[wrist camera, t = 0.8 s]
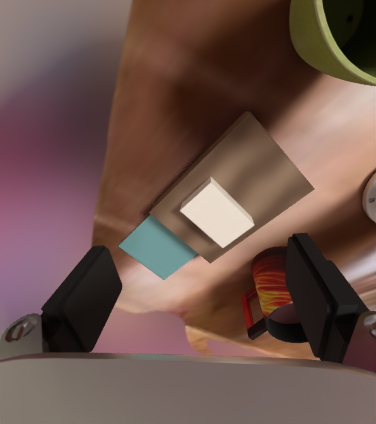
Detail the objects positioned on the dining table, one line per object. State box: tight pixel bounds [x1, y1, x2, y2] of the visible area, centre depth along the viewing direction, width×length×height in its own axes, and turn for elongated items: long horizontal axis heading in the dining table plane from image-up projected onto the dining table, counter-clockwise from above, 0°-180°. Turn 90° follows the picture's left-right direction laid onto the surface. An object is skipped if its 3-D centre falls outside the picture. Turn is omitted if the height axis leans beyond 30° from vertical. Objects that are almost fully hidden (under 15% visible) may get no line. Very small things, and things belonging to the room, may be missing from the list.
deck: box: [149, 111, 314, 263], centre depth 33 cm, size 14×20×4 cm
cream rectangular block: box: [180, 177, 254, 248], centre depth 31 cm, size 9×6×2 cm, turn 46°
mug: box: [241, 247, 308, 343], centre depth 37 cm, size 10×14×12 cm
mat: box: [119, 214, 198, 280], centre depth 41 cm, size 12×12×1 cm
